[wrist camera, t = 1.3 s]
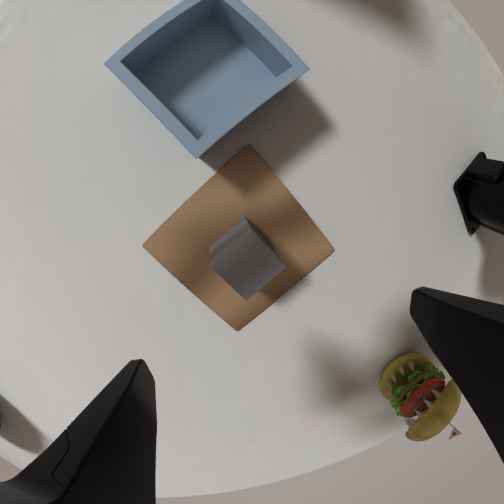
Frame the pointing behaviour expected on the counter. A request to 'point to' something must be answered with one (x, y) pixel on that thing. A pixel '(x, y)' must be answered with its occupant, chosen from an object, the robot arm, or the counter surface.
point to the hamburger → (420, 395)
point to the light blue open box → (205, 69)
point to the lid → (239, 240)
